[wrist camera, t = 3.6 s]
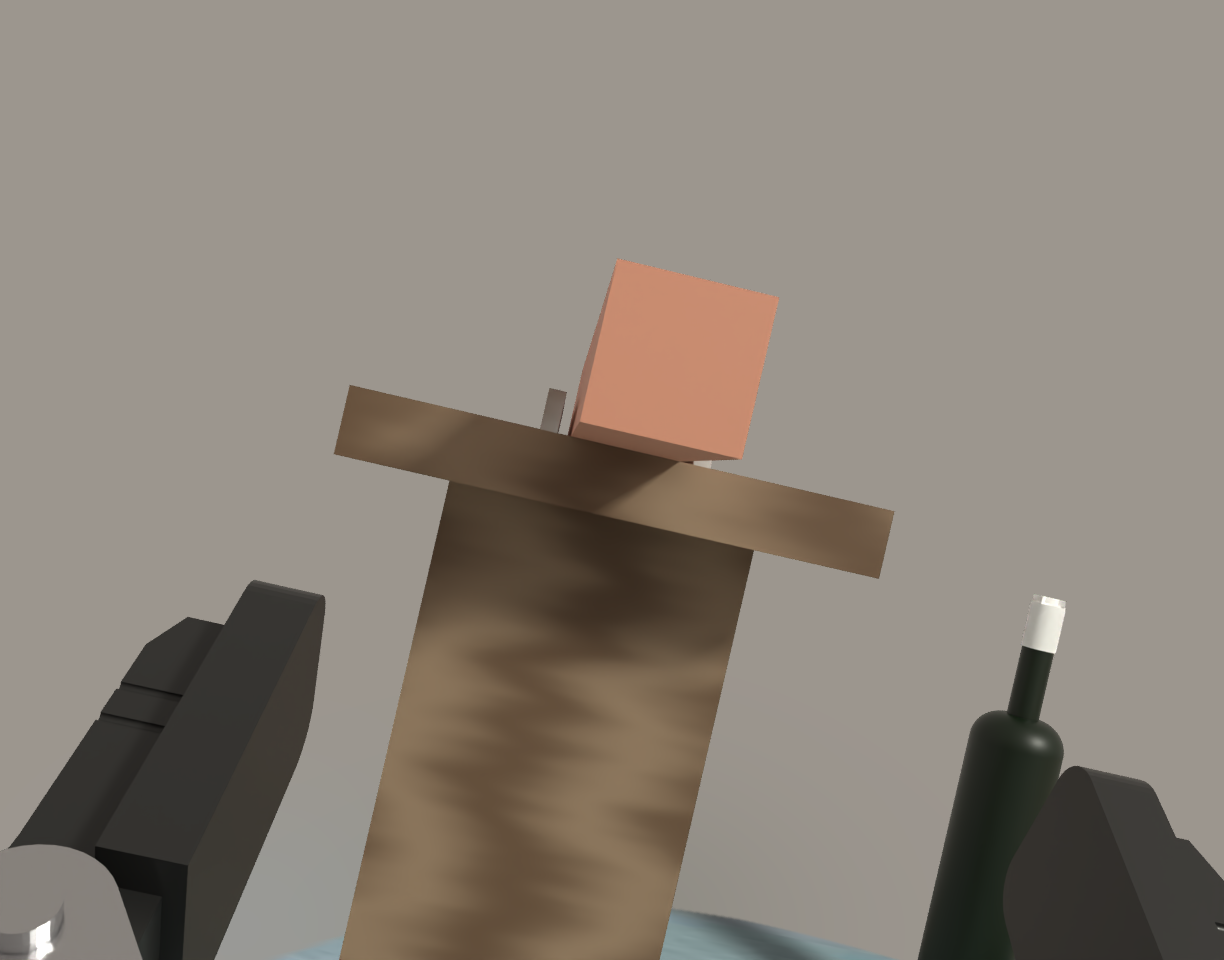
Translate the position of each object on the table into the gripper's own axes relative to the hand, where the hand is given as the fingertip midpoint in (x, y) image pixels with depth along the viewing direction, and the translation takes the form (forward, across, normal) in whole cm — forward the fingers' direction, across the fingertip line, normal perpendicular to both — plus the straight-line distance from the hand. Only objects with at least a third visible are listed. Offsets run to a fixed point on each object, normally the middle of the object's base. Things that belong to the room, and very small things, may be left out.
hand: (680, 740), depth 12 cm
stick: (+22, 0, +8) cm, 23 cm away
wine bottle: (+38, -31, +55) cm, 74 cm away
